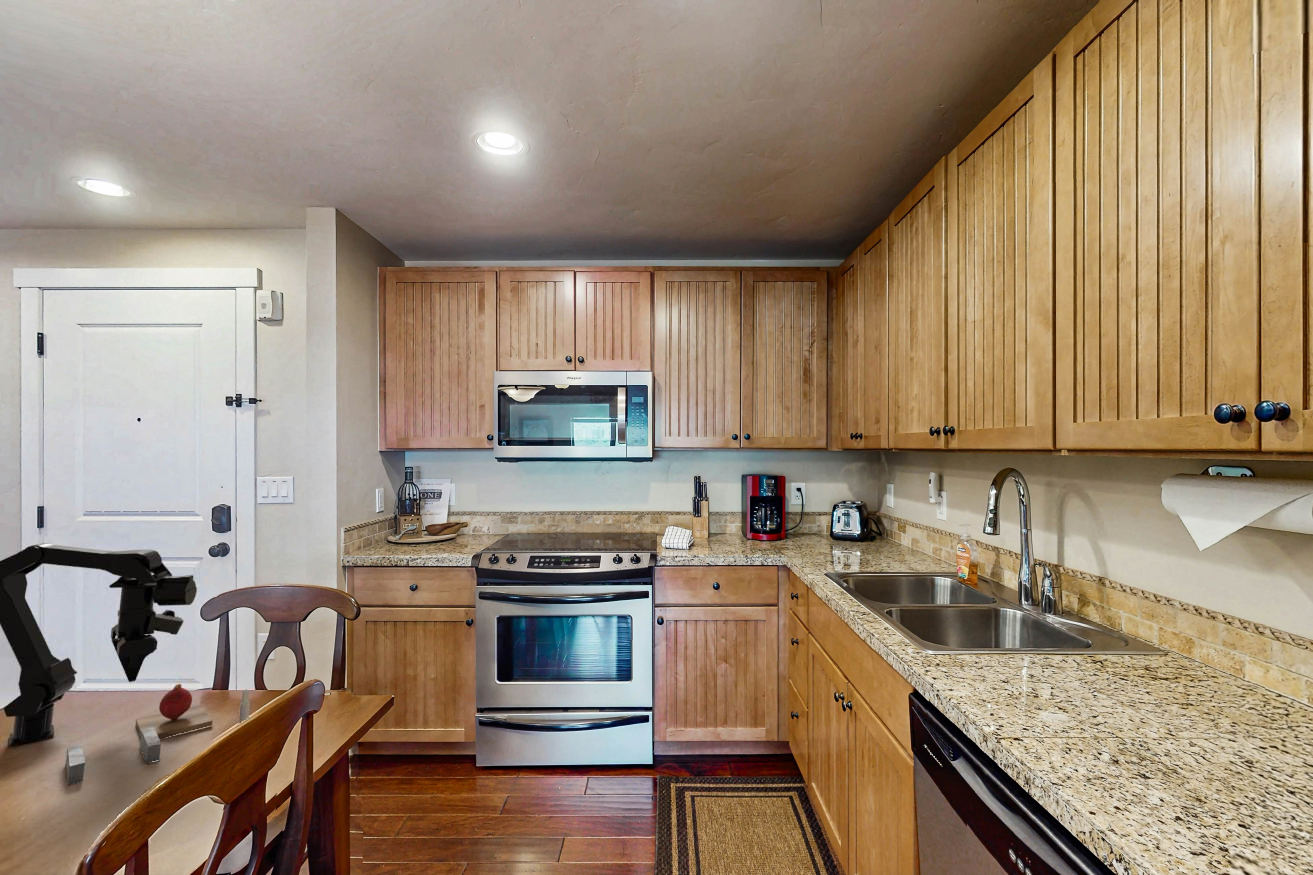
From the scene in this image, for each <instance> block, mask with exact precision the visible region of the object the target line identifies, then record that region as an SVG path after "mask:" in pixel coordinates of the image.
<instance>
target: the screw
mask: <svg viewBox="0 0 1313 875" xmlns="http://www.w3.org/2000/svg"><path fill="white" fill-rule="evenodd" d="M241 694H242V695H241V700H240V701H241V702H239V704H240V705H239V710H238V713H239V714H238V716H239V717H237V718H238V720H237V721H238V723H237V725H239V723H241V722H242V721H244V720H246V719H247V718H248V719H249V718H250V709H251V708H250V707H251V706H250V704H251V702H250V701H251V700H250V691H249V690H248V689H244V690H243V691H242V693H241Z"/></svg>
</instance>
